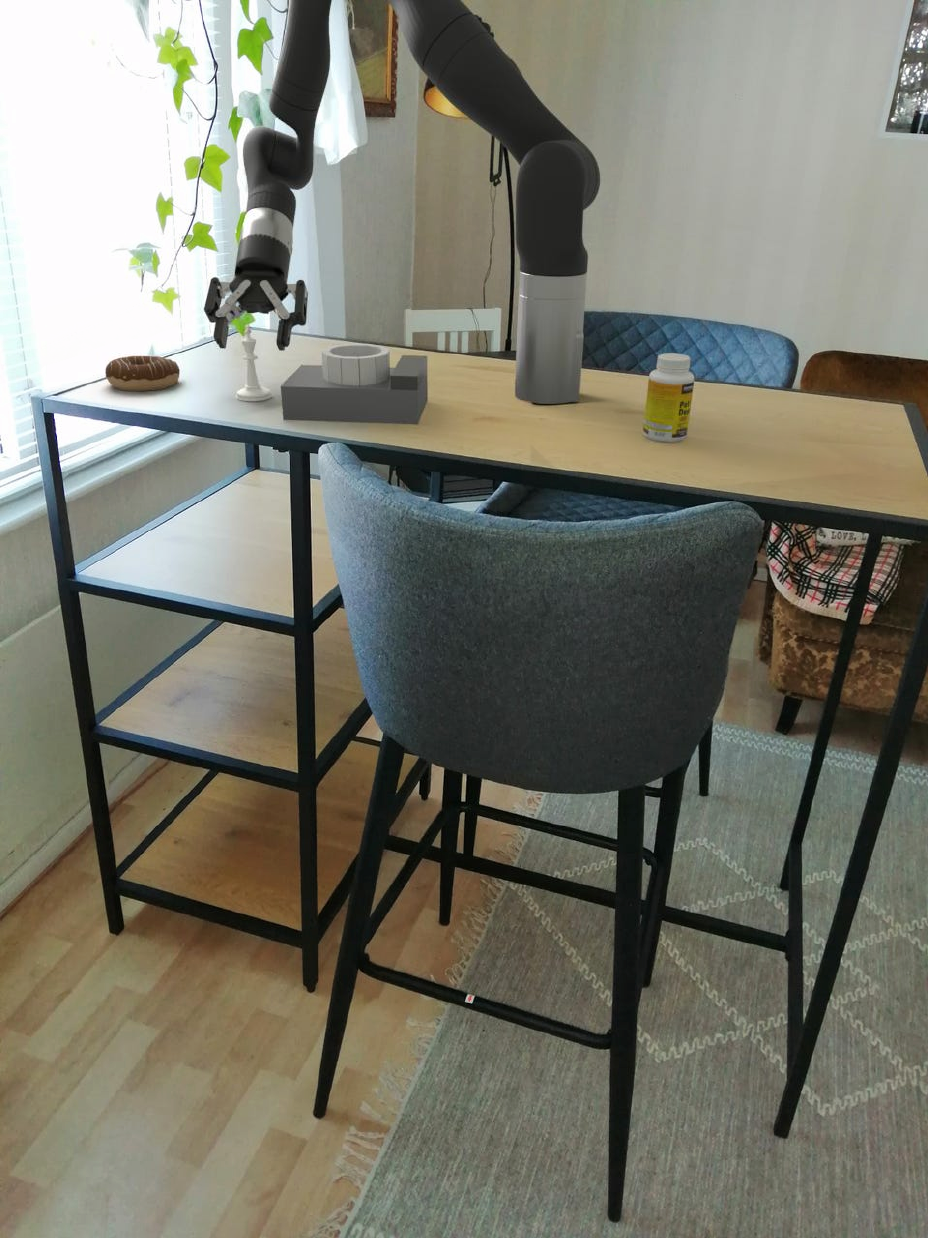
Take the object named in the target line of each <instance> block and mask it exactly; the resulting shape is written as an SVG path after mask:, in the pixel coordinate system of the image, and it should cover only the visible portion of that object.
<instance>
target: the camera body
mask: <svg viewBox="0 0 928 1238" xmlns="http://www.w3.org/2000/svg"><path fill="white" fill-rule="evenodd" d="M390 358H391V357H390V349H389V348H387V347H385V346H383V345H376V344H371V343H347V344H346V343H345V344H337V345H331V346H327V347H325V348H324V349H323V350H322V351H321V365H319V364H317V365H316V364H315V365H313V364H301V365H299V367H298V368H297V369H296V370H295V371H294V372H293V373H292V374H291V375H290V376H289V377H288V378H287V379H286V380H285V381H284V382H283V383H282V384H281V385H280V393H281V404H282V405H281V407H282V417H283V419H282V420H283V421H301V422H302V421H303V422H305V421H306V422H307V421H308V422H310V421H311V422H332V423H333V422H335V423H339V422H340V423H365V424H391V425H392V424H393V425H397V424H398V425H419V422H420V420H421V417H422V415H423V413H424V410H425V408H426V405H427V403H428V401H429V400H428V399H429V398H428V394H429V393H428V389H429V388H428V355H418V354H417V355H413V354H402V356H401V357H400V359H399V360H398V362H397V363H396V366H395V367H391V359H390Z"/></svg>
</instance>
